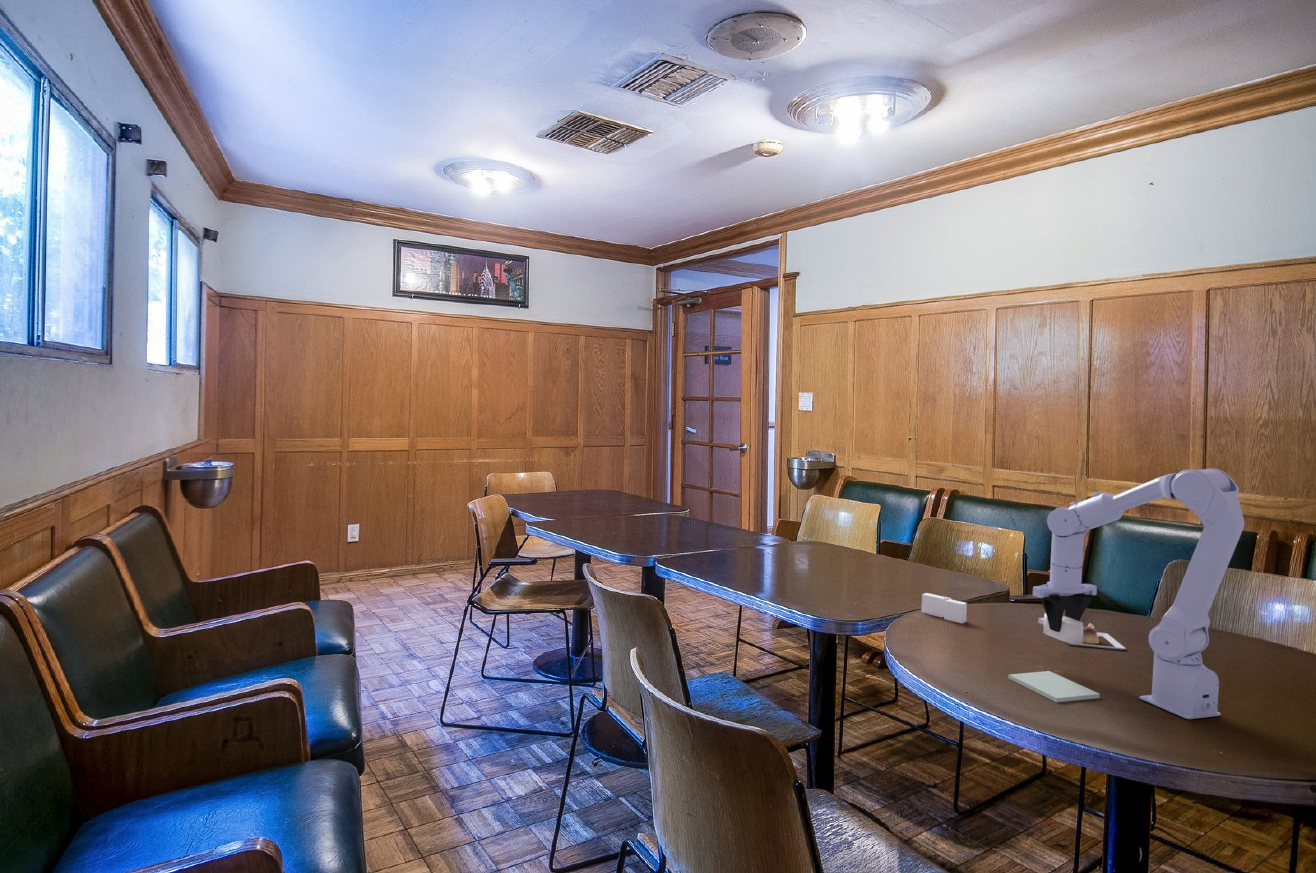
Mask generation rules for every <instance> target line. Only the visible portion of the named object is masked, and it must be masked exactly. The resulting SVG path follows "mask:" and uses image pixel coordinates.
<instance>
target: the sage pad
mask: <svg viewBox="0 0 1316 873" xmlns="http://www.w3.org/2000/svg"><path fill="white" fill-rule="evenodd" d="M1007 678H1008V679H1009V680H1010V681H1013V682H1014V683H1017V684H1019V685H1020V686H1023V687H1024V688H1027V689H1029V690H1031V691H1033V692H1034V693H1037V694H1038V695H1040V696H1043V697H1044V698H1047V699H1049V700H1051V701H1053V702H1055V703H1066V702H1075V701H1084V700H1094V699H1100V697H1101V696H1100V695H1101V694H1100V693H1099V692H1096V691H1094V690H1092V689H1090V688H1087V687H1086V686H1083V685H1081V684H1078V683H1076V682H1075V681H1072V680H1070V679H1068V678H1066V677H1064V676H1061V675H1059V674H1058V673H1054V672H1052V671H1050V670H1046V671H1034V672H1024V673H1023V672H1021V673H1010V674H1008V677H1007Z"/></svg>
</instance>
